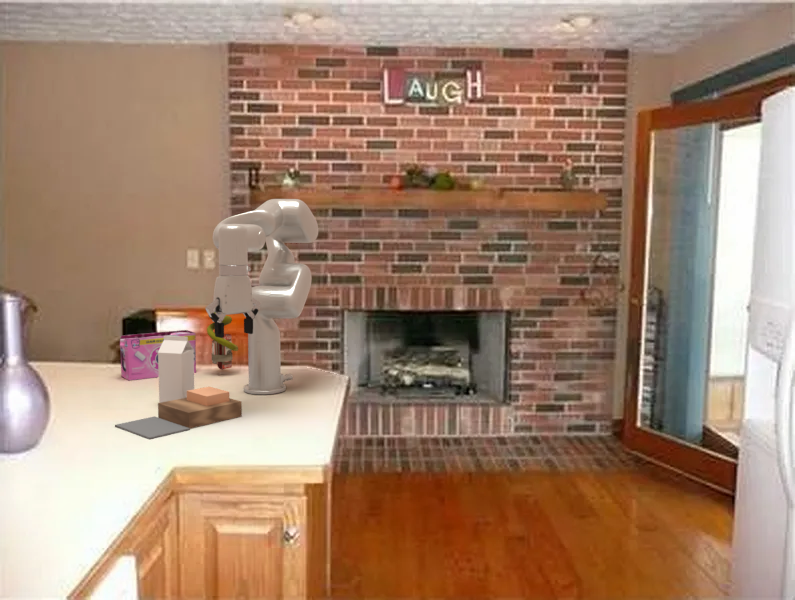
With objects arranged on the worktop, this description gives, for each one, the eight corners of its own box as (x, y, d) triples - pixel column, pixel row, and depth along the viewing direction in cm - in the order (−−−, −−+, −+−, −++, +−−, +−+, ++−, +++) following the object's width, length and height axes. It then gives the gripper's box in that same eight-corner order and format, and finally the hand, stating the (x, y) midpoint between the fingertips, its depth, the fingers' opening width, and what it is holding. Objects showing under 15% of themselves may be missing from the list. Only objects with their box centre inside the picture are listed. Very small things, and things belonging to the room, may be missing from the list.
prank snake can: (237, 376, 250) (236, 300, 247) (205, 377, 249) (204, 300, 246) (240, 369, 261) (239, 296, 258) (210, 370, 260) (209, 296, 257)
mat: (154, 417, 199) (154, 416, 199) (189, 429, 189) (189, 428, 189) (115, 426, 191) (114, 424, 191) (149, 439, 181) (149, 437, 181)
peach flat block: (209, 395, 207) (209, 386, 207) (229, 401, 202) (229, 391, 201) (186, 400, 202) (186, 390, 202) (206, 405, 196) (206, 396, 196)
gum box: (124, 381, 242) (123, 339, 240) (116, 377, 248) (115, 335, 246) (196, 372, 256) (196, 332, 255) (187, 368, 262) (186, 329, 261)
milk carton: (182, 407, 210) (181, 339, 208) (159, 405, 212) (157, 337, 210) (194, 401, 217) (193, 335, 215) (171, 399, 219) (170, 333, 217)
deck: (210, 407, 211) (210, 392, 211) (241, 416, 202) (241, 401, 201) (158, 418, 199) (158, 403, 199) (189, 428, 190) (188, 412, 189)
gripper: (251, 269, 214) (251, 330, 216) (197, 272, 201) (198, 337, 203) (268, 270, 209) (268, 333, 211) (214, 273, 196) (215, 340, 198)
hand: (234, 335), depth 207 cm, fingers open, 9 cm apart
